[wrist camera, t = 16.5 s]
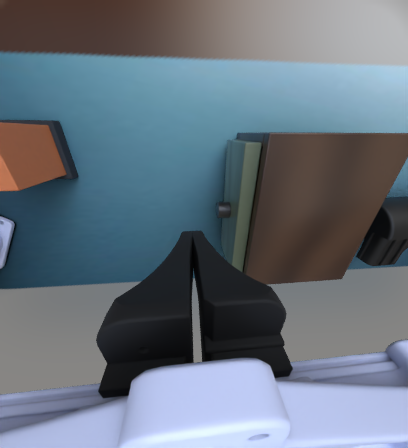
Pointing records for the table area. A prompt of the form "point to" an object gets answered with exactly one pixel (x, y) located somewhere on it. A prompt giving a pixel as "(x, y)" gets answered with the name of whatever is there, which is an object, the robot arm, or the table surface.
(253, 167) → the drawer
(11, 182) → the block
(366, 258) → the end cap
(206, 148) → the table surface
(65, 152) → the coaster
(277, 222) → the cabinet
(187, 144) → the table surface
